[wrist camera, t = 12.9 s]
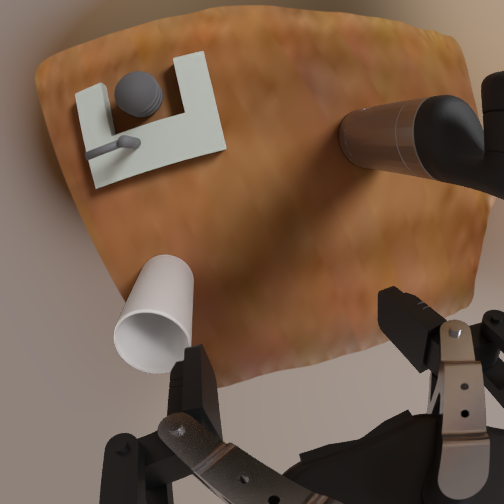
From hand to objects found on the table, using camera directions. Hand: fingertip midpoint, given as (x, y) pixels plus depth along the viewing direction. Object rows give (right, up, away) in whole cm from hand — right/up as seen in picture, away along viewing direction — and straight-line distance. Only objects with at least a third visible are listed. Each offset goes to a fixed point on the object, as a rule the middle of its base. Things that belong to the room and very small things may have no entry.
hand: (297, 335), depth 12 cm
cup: (-15, -1, +30) cm, 34 cm away
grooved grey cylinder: (-16, +24, +21) cm, 36 cm away
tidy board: (-16, +21, +22) cm, 35 cm away
